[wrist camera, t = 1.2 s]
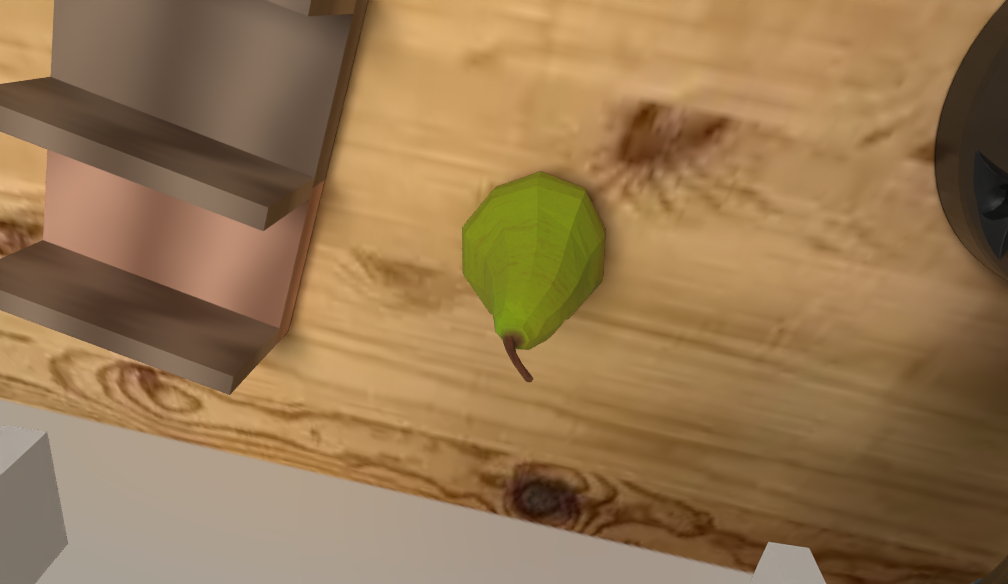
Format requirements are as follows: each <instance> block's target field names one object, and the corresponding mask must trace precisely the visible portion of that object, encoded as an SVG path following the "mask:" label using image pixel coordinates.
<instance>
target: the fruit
mask: <svg viewBox="0 0 1008 584" xmlns="http://www.w3.org/2000/svg"><path fill="white" fill-rule="evenodd" d="M605 233H606V229H605V227H604V225H603V223H602V221H601V219H600V217H599V215H598V213H597V211H596V209H595V207H594V205H593V203H592V201H591V199H590V197H589V195H588V193H587V191H586V189H585V188H583V187H581V186H578V185H575V184H573V183H570V182H567V181H565V180H562V179H560V178H557V177H554V176H552V175H549V174H546V173H544V172H541V171H540V172H537V173H535V174H532V175H529V176H526V177H523V178H520V179H517V180H514V181H511V182H508V183H506V184H503V185H500V186H497V187H496V188H495V189H494V190H493V191H492V192H491V193H490V194H489V196H488V197H487V198H486V199H485V200H484V202H483V203H482V204H481V205H480V206H479V207H478V209H477V210H476V211H475V212H474V213H473V215H472V216H471V217H470V218H469V219H468V220H467V222H466V223H465V225H464V226H463V227H462V251H463V274H464V276H465V278H466V279H467V281H468V282H469V283H470V285H471V286H472V288H473V289H474V291H475V292H476V294H477V295H478V296H479V298H480V299H481V301H482V302H483V304H484V305H485V307H486V308H487V309H488V311H489V312H490V313H491V314H492V315H493V317H494V324H495V331H496V333H497V334H498V335H499V336H500V337H501V339H502V340H503V343H504V346H505V349H506V351H507V353H508V355H509V357H510V359H511V360H512V362H513V364H514V366H515V367H516V368H517V370H518V371H519V373H520V374H521V375H522V377H523V378H524V379H525V381H527V382H532V380H533V377H532V376H531V375H530V373H529V372H528V371H527V369H526V368H525V367H524V366H523V364H522V363H521V361H520V359H519V357H518V355H517V353H516V349H526V350H529V349H531V348H533V347H535V346H536V345H538V344H540V343H542V342H544V341H546V340H547V339H548V338H550V337H551V336H552V335H553V334H554V333H555V332H556V330H557V329H558V328H559V327H560V326H561V324H562V323H563V322H564V321H565V320H566V319H569V318H570V317H571V316H572V315H573V314H574V312H575V311H576V310H577V309H578V308H579V307H580V306H581V305H582V304H583V302H584V301H585V300H586V299H587V298H588V297H589V296H590V295H591V294H592V292H593V291H594V290H595V289H596V288H597V287H598V286H599V285H600V284H601V282H602V280H603V275H604V255H605ZM515 348H516V349H515Z"/></svg>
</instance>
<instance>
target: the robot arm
mask: <svg viewBox="0 0 1008 584" xmlns="http://www.w3.org/2000/svg"><path fill="white" fill-rule="evenodd" d="M936 177H937V184H938V190H939V194H940V198H941V202H942V205H943V208H944V211H945V213H946V216H947V218H948V220H949V222H950V224H951V226H952V228H953V230H954V231H955V233H956V235H957V236H958V237H959V239H960V240H961V242H962V243H963V244H964V246H965V247H966V248H967V249H968V250H969V251H970V252H971V253H972V254H973V255H974V256H975V257H976V258H977V259H978V260H979V261H980V262H981V263H983V264H984V265H985V266H986V267H988V268H989V269H990V270H992V271H993V272H995V273H996V274H998V275H999V276H1001V277H1002V278H1004V279H1005V280H1007V281H1008V0H1007V1H1006V2H1005V3H1004V4H1003V5H1002V7H1001V8H1000V9H999V10H998V11H997V12H996V13H995V15H994V16H993V17H992V19H991V20H990V21H989V22H988V24H987V25H986V26H985V28H984V29H983V30H982V32H981V33H980V35H979V36H978V38H977V39H976V41H975V42H974V44H973V45H972V47H971V49H970V50H969V52H968V54H967V55H966V57H965V59H964V61H963V63H962V65H961V67H960V68H959V70H958V72H957V74H956V77H955V79H954V81H953V84H952V86H951V88H950V91H949V94H948V96H947V99H946V102H945V105H944V109H943V112H942V116H941V120H940V125H939V130H938V136H937V145H936ZM67 544H68V541H67V536H66V531H65V525H64V520H63V514H62V509H61V504H60V498H59V493H58V488H57V482H56V477H55V472H54V467H53V461H52V455H51V450H50V445H49V439H48V434H47V432H45V431H38V430H32V429H24V428H19V427H12V426H5V425H3V426H2V427H1V428H0V584H35V583H36V582H37V580H38V579H39V578H40V577H41V576H42V574H43V573H44V572H45V571H46V570H47V568H48V567H49V566H50V565H51V564H52V562H53V561H54V560H55V559H56V558H57V556H58V555H59V554H60V553H61V552H62V550H63V549H64V548H65V547H66V545H67ZM749 584H826V582H825V580H824V578H823V576H822V574H821V572H820V570H819V568H818V566H817V564H816V561H815V559H814V557H813V555H812V553H811V551H810V549H809V548H805V547H799V546H792V545H786V544H779V543H773V542H768V544H767V546H766V548H765V550H764V552H763V555H762V557H761V559H760V561H759V563H758V566H757V568H756V570H755V572H754V574H753V577H752V579H751V581H750V583H749ZM971 584H1008V556H1007V557H1006V558H1005V559H1004V560H1003V561H1002V562H1001V563H1000V564H999V565H998V566H997V567H996V568H995V569H994V570H993V571H992V572H991V573H990V574H989V575H988V576H987V577H986V578H985V579H977V580H976V581H974V582H973V583H971Z"/></svg>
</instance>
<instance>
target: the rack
mask: <svg viewBox="0 0 1008 584" xmlns="http://www.w3.org/2000/svg"><path fill="white" fill-rule="evenodd" d="M367 3H368V0H54V20H53V41H52V63H51V77H46V78H39V79H32V80H25V81H18V82H11V83H4V84H0V132H3V133H6V134H8V135H11V136H14V137H16V138H19V139H21V140H24V141H27V142H29V143H32V144H35V145H37V146H40V147H43V148H45V149H47V171H46V192H45V214H44V236H43V240H42V241H40V242H38V243H35V244H33V245H31V246H29V247H26V248H24V249H22V250H20V251H17V252H15V253H13V254H10V255H8V256H6V257H4V258H1V259H0V310H1V311H4V312H7V313H10V314H12V315H15V316H18V317H20V318H23V319H26V320H28V321H31V322H34V323H37V324H39V325H42V326H45V327H47V328H50V329H53V330H55V331H58V332H61V333H64V334H66V335H69V336H72V337H74V338H77V339H80V340H82V341H85V342H88V343H91V344H93V345H96V346H99V347H101V348H104V349H107V350H109V351H112V352H115V353H118V354H120V355H123V356H126V357H128V358H131V359H134V360H136V361H139V362H142V363H145V364H147V365H150V366H153V367H155V368H158V369H161V370H164V371H166V372H169V373H172V374H174V375H177V376H180V377H182V378H185V379H188V380H191V381H193V382H196V383H199V384H201V385H204V386H207V387H209V388H212V389H215V390H218V391H220V392H223V393H226V394H228V395H230V394H231V393H232V392H233V391H234V390H235V389H236V388H237V387H238V385H239V384H240V383H241V382H242V381H243V380H244V379H245V378H246V377H247V376H248V375H249V373H250V372H251V371H252V370H253V369H254V368H255V367H256V366H257V365H258V364H259V363H260V361H261V360H262V359H263V358H264V357H265V356H266V355H267V354H268V353H269V352H270V351H271V349H272V348H273V347H274V346H275V345H276V344H277V343H278V342H279V341H280V340H281V338H282V337H283V336H284V335H285V334H286V333H287V332H288V330H289V326H290V322H291V318H292V313H293V309H294V305H295V301H296V297H297V293H298V289H299V284H300V280H301V276H302V272H303V268H304V264H305V260H306V256H307V251H308V247H309V243H310V239H311V235H312V231H313V227H314V222H315V218H316V214H317V210H318V206H319V202H320V198H321V193H322V189H323V185H324V181H325V177H326V173H327V169H328V165H329V160H330V156H331V152H332V148H333V144H334V140H335V136H336V131H337V127H338V123H339V119H340V115H341V111H342V107H343V102H344V98H345V94H346V90H347V86H348V82H349V78H350V74H351V69H352V65H353V61H354V57H355V53H356V49H357V45H358V40H359V36H360V32H361V28H362V24H363V20H364V16H365V11H366V7H367Z"/></svg>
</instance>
